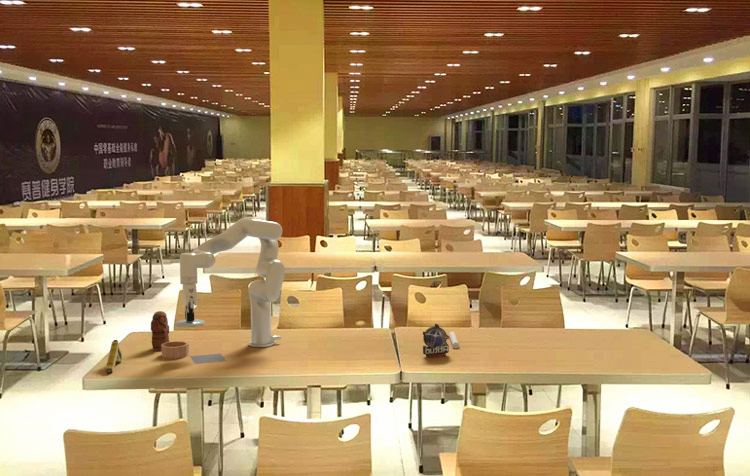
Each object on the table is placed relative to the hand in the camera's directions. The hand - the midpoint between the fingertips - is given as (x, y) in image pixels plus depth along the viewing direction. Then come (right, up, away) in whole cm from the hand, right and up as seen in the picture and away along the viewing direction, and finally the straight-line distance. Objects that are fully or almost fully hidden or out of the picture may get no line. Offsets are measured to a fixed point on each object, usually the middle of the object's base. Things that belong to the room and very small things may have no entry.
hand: (189, 319), depth 376 cm
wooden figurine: (-18, -16, +20) cm, 31 cm away
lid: (0, -2, 0) cm, 2 cm away
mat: (+9, -18, -1) cm, 20 cm away
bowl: (-8, -17, +5) cm, 20 cm away
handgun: (-30, -20, -14) cm, 38 cm away
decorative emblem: (+112, -17, +2) cm, 113 cm away
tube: (+123, -14, +29) cm, 127 cm away
